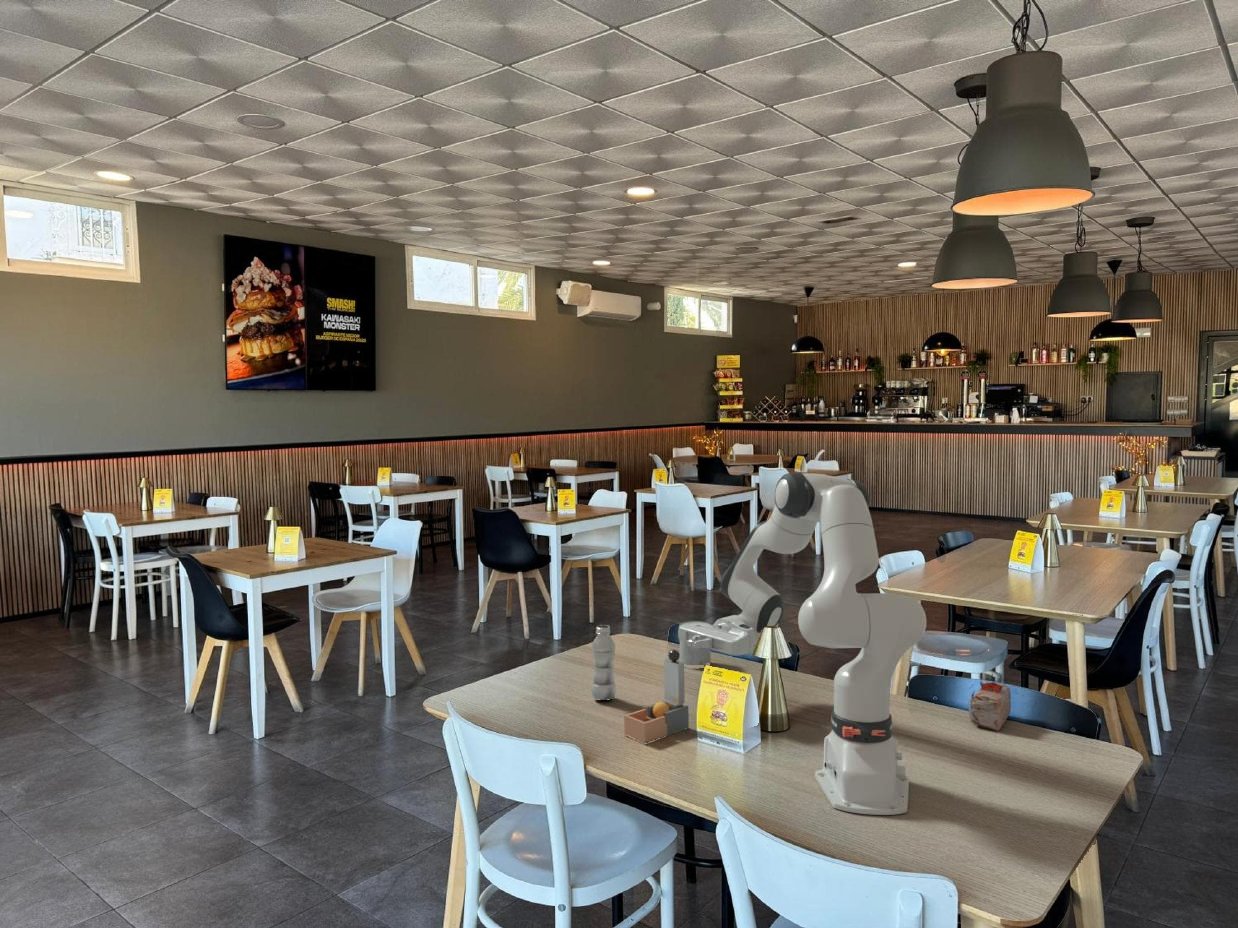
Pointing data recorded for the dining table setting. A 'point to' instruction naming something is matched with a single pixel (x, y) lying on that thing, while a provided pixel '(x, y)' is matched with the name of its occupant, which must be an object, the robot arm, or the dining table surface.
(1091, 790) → the dining table surface
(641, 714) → the cup
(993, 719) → the food item
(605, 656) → the plastic bottle
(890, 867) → the dining table surface
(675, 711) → the launcher
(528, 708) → the dining table surface
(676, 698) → the grey upright post
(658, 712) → the ball
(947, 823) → the dining table surface
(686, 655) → the grey cylinder
